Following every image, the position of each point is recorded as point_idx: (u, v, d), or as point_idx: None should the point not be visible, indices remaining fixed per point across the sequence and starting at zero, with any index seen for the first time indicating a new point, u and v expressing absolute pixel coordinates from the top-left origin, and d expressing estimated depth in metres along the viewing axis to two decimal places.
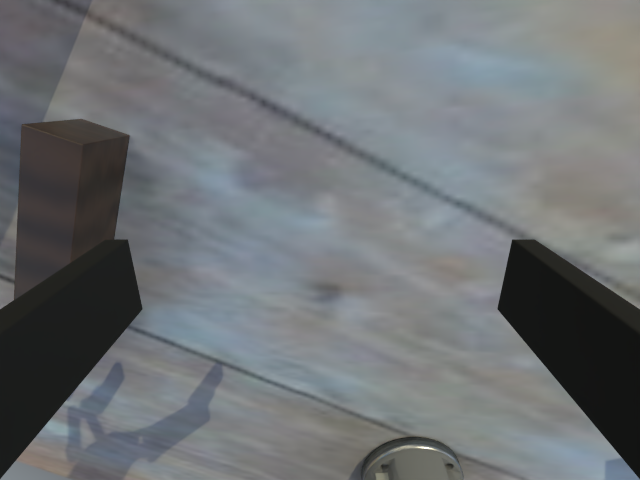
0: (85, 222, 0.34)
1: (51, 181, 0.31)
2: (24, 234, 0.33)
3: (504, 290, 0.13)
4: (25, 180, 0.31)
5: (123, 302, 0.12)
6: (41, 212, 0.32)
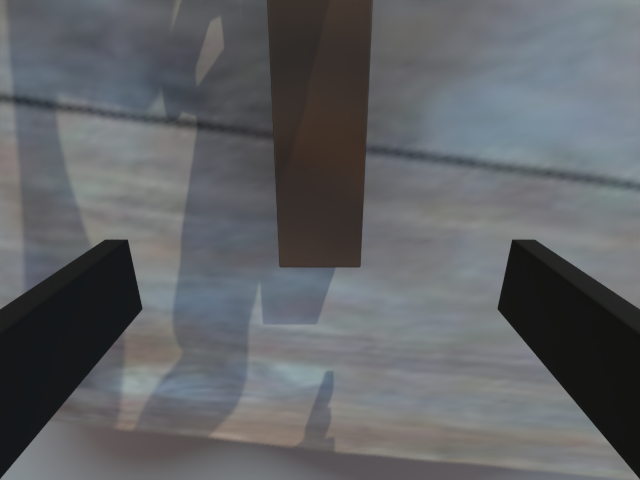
0: None
1: None
2: None
3: (504, 290, 0.13)
4: None
5: (123, 302, 0.12)
6: None
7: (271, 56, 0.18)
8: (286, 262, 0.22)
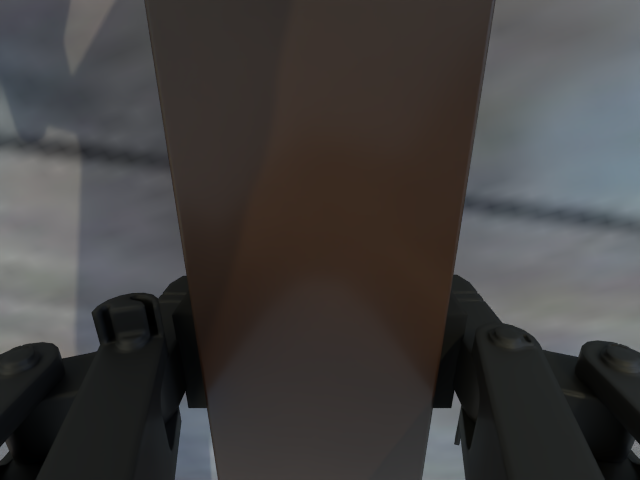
0: None
1: None
2: None
3: None
4: None
5: None
6: None
7: None
8: None
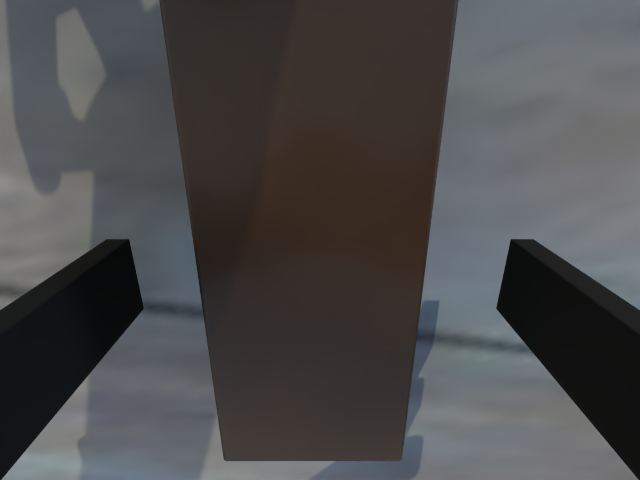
0: None
1: None
2: None
3: (502, 290, 0.13)
4: None
5: (124, 302, 0.12)
6: None
7: None
8: (238, 453, 0.10)
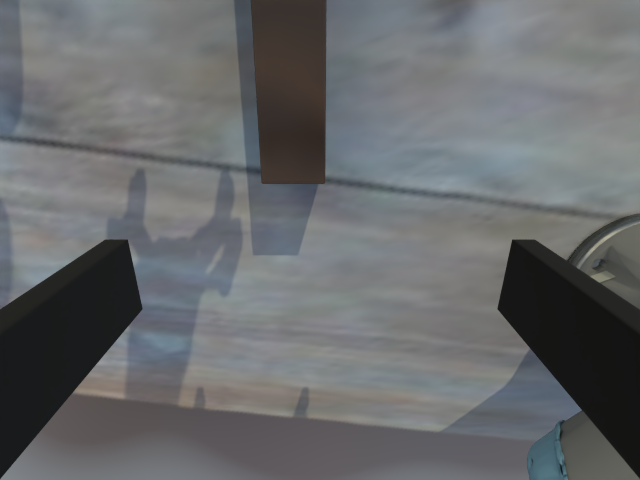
0: None
1: None
2: None
3: (503, 290, 0.13)
4: None
5: (123, 302, 0.12)
6: None
7: (252, 11, 0.24)
8: (267, 179, 0.28)
